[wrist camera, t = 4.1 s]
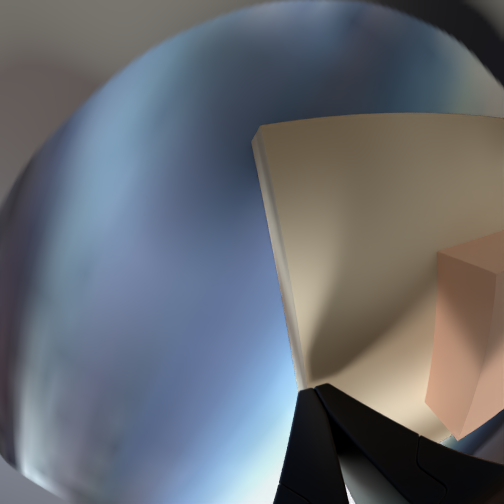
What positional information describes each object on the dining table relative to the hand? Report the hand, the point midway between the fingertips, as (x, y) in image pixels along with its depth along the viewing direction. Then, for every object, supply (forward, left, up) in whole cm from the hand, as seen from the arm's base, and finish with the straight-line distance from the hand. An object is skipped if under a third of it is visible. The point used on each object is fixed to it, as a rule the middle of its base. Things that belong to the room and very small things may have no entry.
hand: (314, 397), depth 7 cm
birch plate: (0, -9, -3) cm, 10 cm away
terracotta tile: (0, -7, -1) cm, 8 cm away
